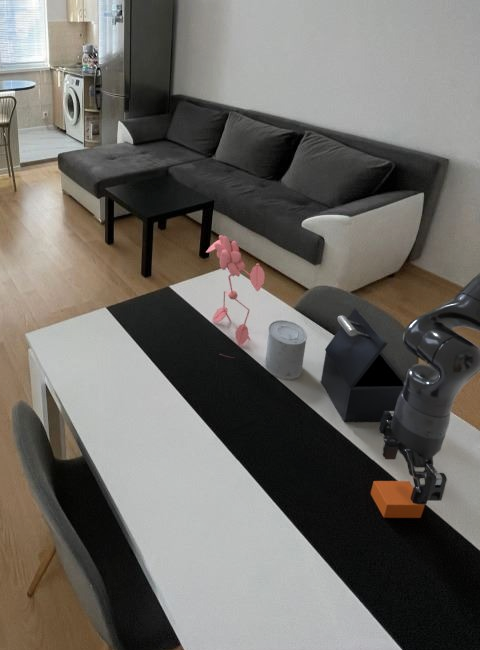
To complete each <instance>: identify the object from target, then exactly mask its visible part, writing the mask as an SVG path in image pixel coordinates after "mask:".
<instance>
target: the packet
mask: <svg viewBox="0 0 480 650" xmlns="http://www.w3.org/2000/svg"><path fill="white" fill-rule="evenodd" d="M413 488H414V486H413V484H412V483H411V481H410V480H374V481H373V482H372V487H371V489H370V496H371V498H372V499H373V501H374V503H375V506H377V508H378V510H379V513H381V515H382V517H383V518H384V519H385V518H386V519H421V518H422V515H423V512H424V509H425V505H426V504H414V503H413V502H412V500H411V499H410V498H411V495H412V491H413Z"/></svg>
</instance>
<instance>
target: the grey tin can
mask: <svg viewBox="0 0 480 650" xmlns="http://www.w3.org/2000/svg"><path fill="white" fill-rule="evenodd" d="M307 339H308V335H307V332H306V330H305V329H304V328H303V327H302V326H301V325H299V324H297V323H295V322H293V321H289V320H284V319H283V320H282V319H280V320H275V321H272V322H271V323H270V324H269V325H268V333H267V344H266V354H265V360H264V364H265V367H266V369H267V370H268V372H269V373H271V374H272V375H274V376H275V377H278V378H280V379H283V380H295V379H298V378H300V377H301V375H302V373H303V365H304V358H305V350H306V343H307Z"/></svg>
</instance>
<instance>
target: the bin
mask: <svg viewBox="0 0 480 650" xmlns="http://www.w3.org/2000/svg"><path fill="white" fill-rule="evenodd" d="M404 380H405V378H403V376H402V375H401V374H400V373H399V371H398V370H397V369H396V368H395V366H394V365H393V364H392V363H391V362H390V360H389V359H388V358H387V357H386V355H384V353H383V351H381V353H380V354H379V355H378V357H377V358H376V359H375V360H374V362H373V363H372V364H371V366H370V367H369V368H368V369H367V371H366V372H365V373H364V375H363V376H362V377H361V378H360V380H359V381H358V382H357V383H356V385H355V386H354V387H353V388H350V387H349V386H348V384H347V383H346V381H345V380H344V378H343V377H342V375H341V374H340V372H339V371H338V369H337V367H336V366H335V364H334V363H333V361H332V360H331V358H330V357H329V355H328V354H327V352H326V351H325V355H324V360H323V366H322V372H321V379H320V384H321V386H322V387H323V390H324V391H325V392H326V394H327V396H328V398H329V400H330V401H331V403H332V405H333V406H334V408H335V409H336V412H337V413H338V414H339V417H340V418H341V420H342V421H343V423H344V424H345V423H348V424H349V423H380V422H381V419H382V416H383V413H384V411H394V410H395V407H396V403H397V399H398V397H399V395H400V393H401V391H402V388H403V384H404Z"/></svg>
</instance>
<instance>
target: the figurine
mask: <svg viewBox="0 0 480 650" xmlns="http://www.w3.org/2000/svg"><path fill="white" fill-rule="evenodd" d="M214 251H216V256H217V258H218V259H219V266H220V269H221V270H223V271H226V269H227V271H228V273H229V274H228V282H229V286H230V290H229V291H227V290H223V306H221V307H219V308H218V309H216V311H215V312H214V314H213V316H212V320H211V322H212V321H213V322H212V323H219V322H221V321H222V320H223V319H224V318H225V317H226V318H227V320H228V321H229V322H230V321H231V322H232V319H231V317H230V315H229V314H228V308H227V307H226V304H225V303H226V294H227V296H228V298H229V299H230V300H234V301H236V302H237V303H238V304H239V305H241V306H242V307H244V309H246V310H247V312H246V317H245V320H244V322H243V324H239V325H238V327H237V328H236V330H235V340H236V343H237V344H238V347H241V346H243V345H244V344H245V343H246V342H247V340H251V338H250V336H249V328H248V326H247V325H246V323H247V320H248V318H249V315H250V308H249V307H247V306H245V304H243V303H242V302H241V301H240V300H238V296H239V295H238V292H237V291H235V290H234V289H233V285H232V280H231V277H235V276H236V277H240V276H241V274H240V273H241V271H242V272H244V273H245V274H247V276H249V278H250V283H251V286H252V287H253V288H254V290H255V291H256V292H259V291H260V290H261V289H262V287H263V285H264V283H265V280H266V276H265V271H264V268H263V267H262V266H260V265H261V264H260V263H256V264H255V265H254V266H253V267H252V269H251V271H250V273H249V272H248V271H247V270H245V269H246V264H245V262H244V261H243V260H242V253H241V252H240V246H239V244H238V241H237V240H233V241H230V239H229V238H228V237H227V236H226V235H222V234H220V235H219V236H218V240H216V241H215V242H213V243H212V244H211V245H210V246H208V249H207V250H206V251H205V253H207V254H208V253H212V252H214ZM220 356H223V357H226V358H229V356H228V355H224V354H221V353H220ZM230 358H231V359H234V357H232V356H230Z"/></svg>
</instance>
